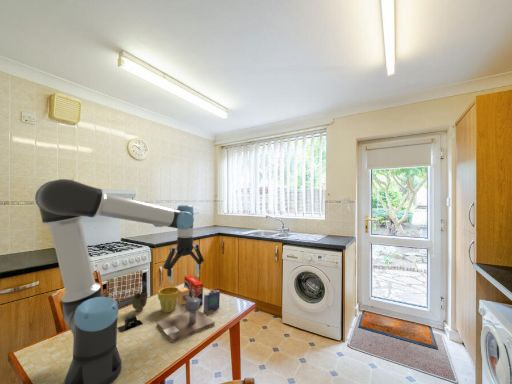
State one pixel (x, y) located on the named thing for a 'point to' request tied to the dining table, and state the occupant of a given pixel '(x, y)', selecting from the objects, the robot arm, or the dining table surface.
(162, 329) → the post base
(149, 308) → the dining table surface
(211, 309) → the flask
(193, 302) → the grey joystick lever
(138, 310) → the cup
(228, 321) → the dining table surface
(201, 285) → the toy box
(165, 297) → the plant pot
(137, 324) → the black rounded lump
